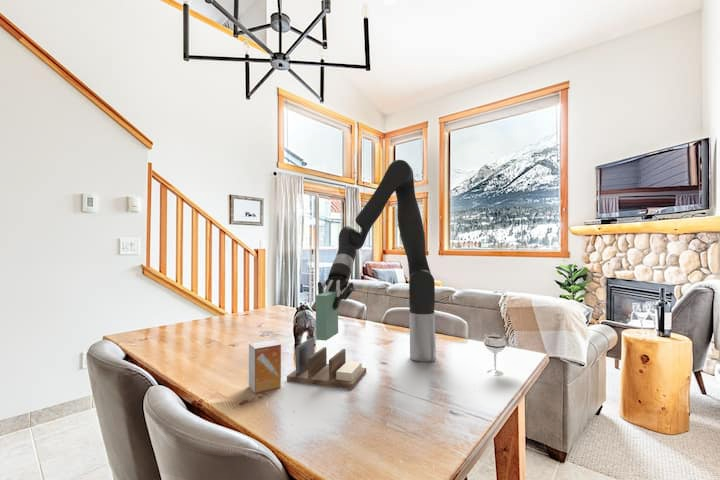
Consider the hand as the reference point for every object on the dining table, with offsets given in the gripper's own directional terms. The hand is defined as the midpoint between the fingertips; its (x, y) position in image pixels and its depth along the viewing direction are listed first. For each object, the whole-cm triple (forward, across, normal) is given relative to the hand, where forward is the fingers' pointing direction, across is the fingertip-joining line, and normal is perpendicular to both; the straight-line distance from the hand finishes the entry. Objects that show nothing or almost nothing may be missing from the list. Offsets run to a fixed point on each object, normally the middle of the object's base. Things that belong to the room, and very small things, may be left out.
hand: (328, 308), depth 114 cm
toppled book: (+16, +8, +13) cm, 22 cm away
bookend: (+16, -8, +13) cm, 22 cm away
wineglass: (+3, +52, +28) cm, 59 cm away
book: (+7, 0, +6) cm, 9 cm away
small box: (+26, -14, +5) cm, 30 cm away
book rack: (+17, 0, +14) cm, 22 cm away
